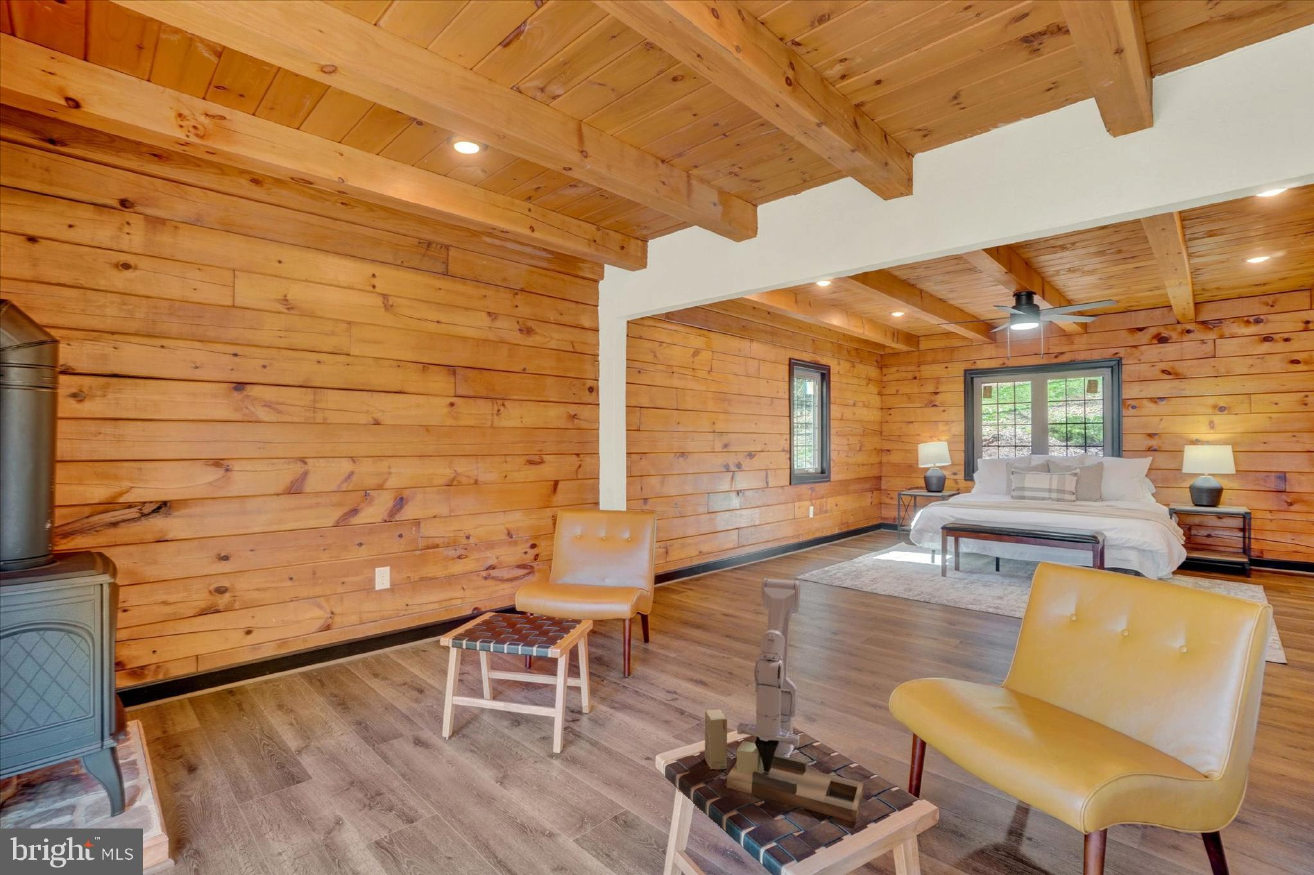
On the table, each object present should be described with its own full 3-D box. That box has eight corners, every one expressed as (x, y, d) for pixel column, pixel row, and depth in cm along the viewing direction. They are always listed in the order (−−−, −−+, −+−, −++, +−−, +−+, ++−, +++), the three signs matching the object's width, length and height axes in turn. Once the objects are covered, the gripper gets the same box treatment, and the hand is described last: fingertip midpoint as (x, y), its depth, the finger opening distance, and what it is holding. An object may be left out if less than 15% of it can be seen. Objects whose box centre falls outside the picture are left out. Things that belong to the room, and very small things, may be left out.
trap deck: (742, 763, 153) (742, 745, 153) (863, 793, 140) (863, 774, 141) (726, 787, 142) (726, 767, 142) (856, 822, 130) (856, 801, 130)
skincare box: (727, 769, 150) (728, 719, 150) (710, 770, 149) (711, 720, 149) (720, 756, 156) (721, 708, 156) (704, 757, 156) (704, 709, 156)
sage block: (743, 761, 149) (743, 740, 149) (763, 765, 147) (763, 745, 147) (736, 770, 145) (736, 749, 145) (757, 775, 143) (757, 754, 143)
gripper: (733, 712, 144) (732, 770, 144) (795, 725, 138) (794, 785, 137) (742, 701, 150) (741, 756, 150) (801, 713, 144) (800, 771, 144)
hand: (767, 769), depth 144 cm, fingers closed
